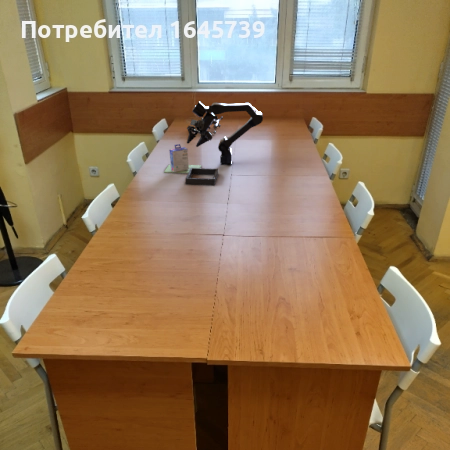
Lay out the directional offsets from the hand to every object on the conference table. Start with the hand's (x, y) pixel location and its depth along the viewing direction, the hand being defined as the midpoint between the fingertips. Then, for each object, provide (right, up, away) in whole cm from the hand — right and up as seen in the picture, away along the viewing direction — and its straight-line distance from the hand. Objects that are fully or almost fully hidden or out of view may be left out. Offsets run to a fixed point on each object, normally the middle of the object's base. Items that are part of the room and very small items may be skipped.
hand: (191, 144), depth 265 cm
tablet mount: (+1, +47, +79) cm, 92 cm away
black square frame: (+7, -23, -10) cm, 26 cm away
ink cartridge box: (-7, -14, +2) cm, 16 cm away
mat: (-6, -13, +5) cm, 15 cm away
